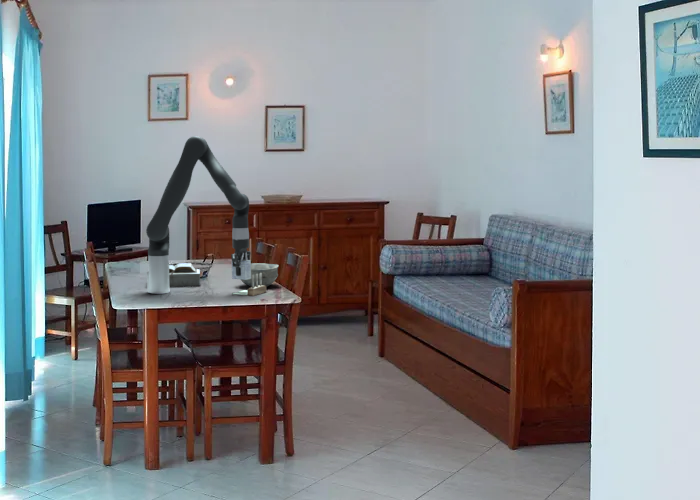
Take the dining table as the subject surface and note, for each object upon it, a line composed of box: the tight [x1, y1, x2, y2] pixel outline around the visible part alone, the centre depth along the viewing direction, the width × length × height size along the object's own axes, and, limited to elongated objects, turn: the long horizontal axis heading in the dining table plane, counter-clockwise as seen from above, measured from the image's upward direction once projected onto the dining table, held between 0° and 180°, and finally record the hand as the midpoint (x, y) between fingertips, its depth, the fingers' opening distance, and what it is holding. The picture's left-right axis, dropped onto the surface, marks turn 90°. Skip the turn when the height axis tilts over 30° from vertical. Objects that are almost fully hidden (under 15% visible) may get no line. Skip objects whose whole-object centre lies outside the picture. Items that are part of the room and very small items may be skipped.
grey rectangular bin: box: [169, 262, 201, 288], centre depth 440 cm, size 23×27×10 cm
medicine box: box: [231, 259, 252, 281], centre depth 412 cm, size 8×4×9 cm, turn 58°
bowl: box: [239, 262, 279, 288], centre depth 432 cm, size 21×21×10 cm
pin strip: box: [246, 273, 267, 297], centre depth 410 cm, size 3×12×9 cm, turn 157°
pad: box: [232, 289, 248, 296], centre depth 413 cm, size 8×10×1 cm
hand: (241, 274), depth 413 cm, fingers closed on medicine box, 5 cm apart
